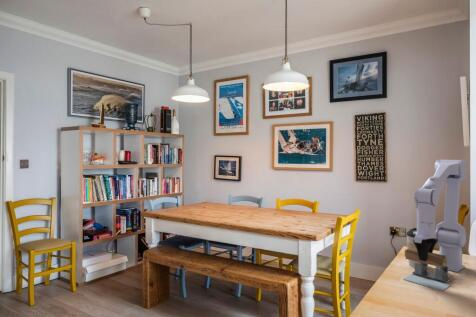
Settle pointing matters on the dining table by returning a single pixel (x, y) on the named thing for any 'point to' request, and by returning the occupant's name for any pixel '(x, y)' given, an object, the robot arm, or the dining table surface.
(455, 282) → the dining table surface
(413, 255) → the rail
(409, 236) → the coffee cup
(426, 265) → the stand
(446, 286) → the mat
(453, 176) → the robot arm
